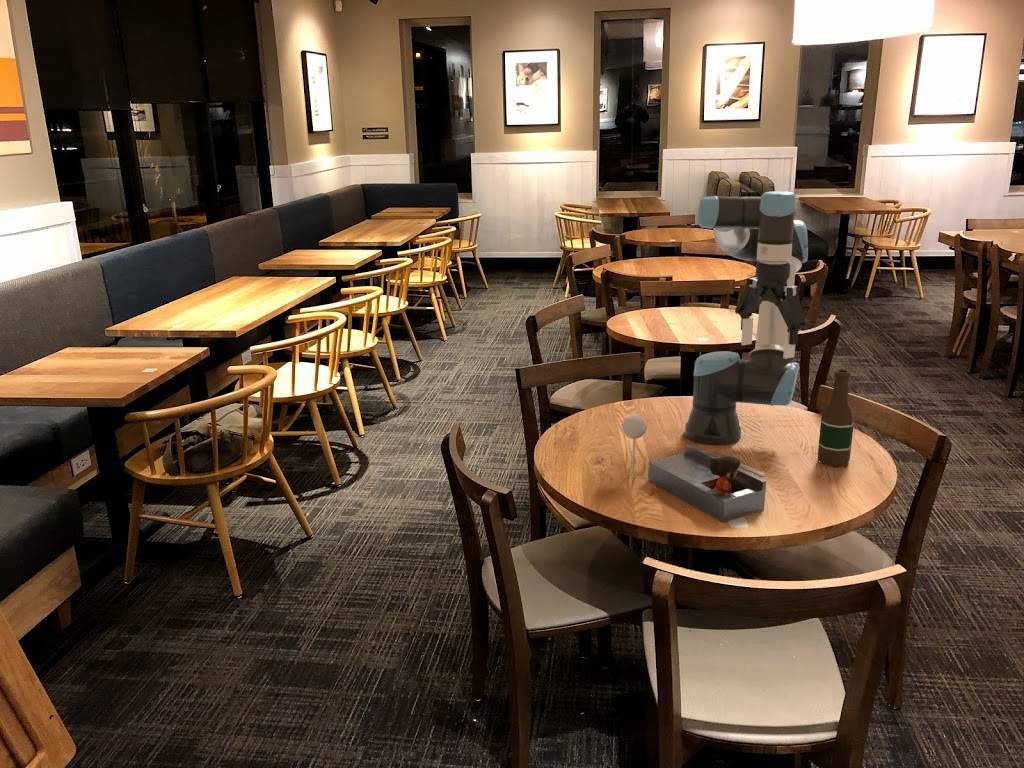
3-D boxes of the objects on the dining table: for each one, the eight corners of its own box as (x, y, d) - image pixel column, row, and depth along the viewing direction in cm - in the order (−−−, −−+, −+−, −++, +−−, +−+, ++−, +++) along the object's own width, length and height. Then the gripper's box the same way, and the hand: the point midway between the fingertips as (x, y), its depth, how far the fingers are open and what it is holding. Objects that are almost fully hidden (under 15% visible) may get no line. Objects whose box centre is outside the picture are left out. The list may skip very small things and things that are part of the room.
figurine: (723, 513, 180) (726, 463, 176) (704, 504, 184) (706, 455, 181) (742, 506, 183) (745, 456, 180) (723, 497, 188) (726, 449, 184)
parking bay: (695, 470, 203) (695, 468, 203) (731, 460, 209) (731, 458, 209) (727, 486, 194) (727, 484, 193) (765, 475, 199) (765, 474, 199)
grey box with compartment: (648, 480, 198) (649, 453, 196) (686, 470, 203) (687, 444, 201) (723, 522, 176) (725, 492, 174) (764, 509, 181) (766, 480, 179)
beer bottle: (852, 468, 202) (862, 376, 195) (819, 466, 204) (828, 374, 197) (846, 456, 209) (856, 367, 202) (814, 455, 211) (823, 366, 204)
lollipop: (647, 469, 204) (649, 412, 200) (643, 478, 199) (645, 420, 195) (623, 466, 206) (624, 410, 202) (618, 475, 201) (619, 418, 197)
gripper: (723, 255, 195) (718, 341, 202) (803, 271, 174) (795, 366, 181) (746, 252, 198) (741, 336, 205) (828, 267, 177) (819, 360, 184)
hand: (766, 350), depth 193 cm, fingers open, 13 cm apart
